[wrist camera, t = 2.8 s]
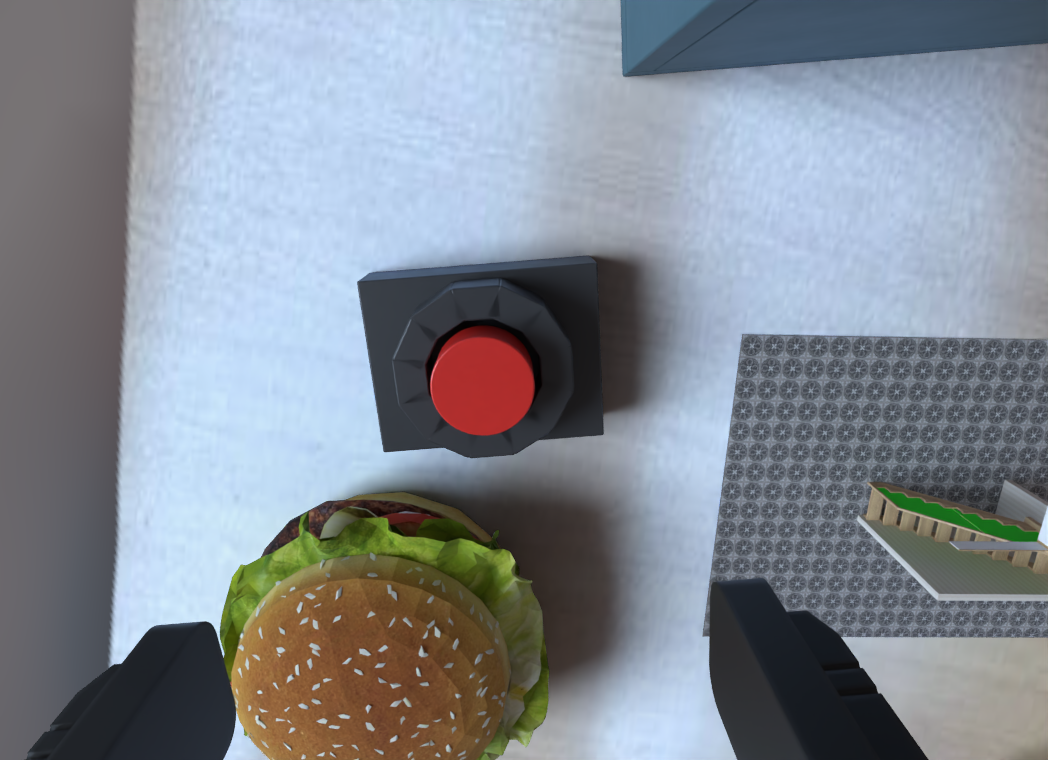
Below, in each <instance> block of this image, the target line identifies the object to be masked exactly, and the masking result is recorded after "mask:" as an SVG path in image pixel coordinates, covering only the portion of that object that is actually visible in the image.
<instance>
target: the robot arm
mask: <svg viewBox="0 0 1048 760" xmlns="http://www.w3.org/2000/svg"><path fill="white" fill-rule="evenodd" d="M709 667H710V678H711V684H712V690H713V694H714V698H715V702H716V705H717V708H718V711H719V714H720V716H721V719H722V722H723V724H724V727H725V729H726V732H727V734H728V737H729V739H730V742H731V745H732V747H733V750H734V752H735V755H736V757H737V760H928V758H927V757H926V756H925V754H924V753H923V751H922V750H921V749H920V747H919V746H918V744H917V743H916V742H915V740H914V739H913V737H912V736H911V735H910V733H909V732H908V730H907V729H906V728H905V726H904V725H903V723H902V722H901V721H900V719H899V718H898V716H897V715H896V714H895V712H894V711H893V709H892V708H891V707H890V705H889V704H888V702H887V701H886V700H885V698H884V697H883V695H882V694H878V692H877V688H876V686H875V684H874V683H873V681H872V680H871V679H870V677H869V676H868V674H867V673H866V672H865V670H864V669H863V668H860V666H859V662H858V660H857V659H856V658H855V656H854V655H853V653H852V652H851V651H850V649H849V648H848V646H847V645H846V644H845V642H844V641H843V639H842V638H841V637H840V635H839V634H838V633H837V632H836V631H834V630H833V629H832V628H830V627H829V626H827V625H826V624H825V623H823V622H822V621H821V620H819V619H818V618H817V617H815V616H814V615H812V614H811V613H810V612H808V611H807V610H803V611H790V612H787V611H786V610H785V608H784V607H783V605H782V604H781V602H780V600H779V599H778V597H777V596H776V594H775V593H774V591H773V589H772V588H771V586H770V585H769V583H768V582H767V581H766V580H765V579H764V578H753V579H741V580H729V581H716V582H713V583H712V585H711V590H710V648H709ZM235 721H236V706H235V699H234V695H233V692H232V688H231V685H230V681H229V677H228V674H227V670H226V666H225V663H224V659H223V655H222V652H221V648H220V644H219V641H218V637H217V634H216V631H215V629H214V627H213V626H212V624H211V623H209V622H206V621H205V622H192V623H180V624H168V625H157V626H154V627H152V628H151V629H149V630H148V631H147V633H146V634H145V635H144V636H143V637H142V639H141V640H140V641H139V642H138V644H137V645H136V646H135V648H134V649H133V650H132V651H131V653H130V654H129V655H128V656H127V658H126V659H125V660H124V661H123V663H122V664H114V665H113V666H111V667H110V668H109V669H108V670H106V671H105V672H104V673H102V674H101V675H100V676H99V677H97V678H96V679H95V680H93V681H92V682H91V683H90V684H88V685H87V686H86V687H84V688H83V689H82V690H80V691H79V692H78V693H77V694H76V695H75V697H74V698H73V699H72V700H71V701H70V702H69V704H68V705H67V706H66V707H65V708H64V710H63V711H62V712H61V713H60V714H59V716H58V717H57V718H56V719H55V720H54V722H53V723H52V724H51V728H50V731H49V732H45V733H44V734H43V735H42V736H41V737H40V739H39V740H38V741H37V742H36V743H35V744H34V746H33V747H32V748H31V749H30V751H29V752H28V756H27V759H26V760H223V759H224V757H225V755H226V753H227V751H228V748H229V746H230V743H231V740H232V737H233V733H234V728H235Z"/></svg>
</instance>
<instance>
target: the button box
mask: <svg viewBox="0 0 1048 760" xmlns="http://www.w3.org/2000/svg"><path fill="white" fill-rule="evenodd" d="M357 285H358V291H359V298H360V304H361V310H362V317H363V323H364V330H365V336H366V342H367V349H368V355H369V362H370V368H371V374H372V381H373V387H374V394H375V400H376V406H377V413H378V419H379V426H380V432H381V438H382V445H383V451H384V452H393V451H406V450H419V449H431V448H446V449H449V450H451V451H453V452H456V453H458V454H461V455H463V456H465V457H470V458H480V457H493V456H506V455H514V454H517V453H518V452H520V451H521V450H523V449H525V448H526V447H528V446H529V445H531V444H532V443H534V442H536V441H537V440H545V439H558V438H571V437H583V436H596V435H603V434H604V429H603V404H602V378H601V353H600V328H599V303H598V277H597V263H596V262H595V261H594V260H593V259H592V258H591V257H590V256H577V257H565V258H552V259H540V260H527V261H514V262H502V263H489V264H476V265H464V266H451V267H438V268H426V269H413V270H400V271H388V272H375V273H369V274H368V275H366V276H365V277H363V278H362V279H361V280H359V281H358V282H357ZM483 325H487V326H494V327H498V328H501V329H504V330H506V331H508V332H510V333H511V334H513V335H514V336H515V337H517V338H518V339H519V340H520V341H521V342H522V344H523V345H524V346H525V348H526V349H527V351H528V353H529V355H530V357H531V361H532V365H533V373H534V380H535V392H534V398H533V401H532V404H531V406H530V408H529V410H528V412H527V413H526V415H525V416H524V417H523V418H522V419H521V420H520V421H519V422H518V423H517V424H516V425H514V426H513V427H512V428H510V429H508V430H506V431H504V432H501V433H498V434H494V435H473V434H468V433H465V432H463V431H460V430H458V429H456V428H455V427H453V426H452V425H450V424H449V423H448V422H447V421H445V420H444V418H443V417H442V416H441V415H440V414H439V412H438V411H437V409H436V407H435V405H434V403H433V400H432V396H431V391H430V380H431V375H432V371H433V368H434V365H435V363H436V360H437V358H438V355H439V353H440V351H441V349H442V347H443V346H444V344H445V343H446V342H447V341H448V340H449V339H450V338H451V337H452V336H453V335H455V334H456V333H458V332H460V331H461V330H464V329H466V328H469V327H473V326H483Z"/></svg>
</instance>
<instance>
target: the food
mask: <svg viewBox="0 0 1048 760" xmlns="http://www.w3.org/2000/svg"><path fill="white" fill-rule="evenodd" d="M498 535H499V530H496V531H495V533H494V535H493V537H491V536H490V535H489V534H487V533H486V532H485V531H484V530H483V529H482V528H480V527H479V526H478V525H477V524H476V523H475V522H474V521H472V520H471V519H470V518H469V517H468V516H466V515H465V514H464V513H463V512H461V511H460V510H459V509H457V508H454V507H451V506H447V505H444V504H441V503H438V502H435V501H432V500H428V499H425V498H422V497H419V496H415V495H412V494H409V493H406V492H395V493H380V494H364V495H357V496H355V497H352V498H349V499H346V500H340V501H326V502H324V503H322V504H321V505H319V506H317V507H315V508H313V509H311V510H309V511H307V512H305V513H304V514H302V515H300V516H298V517H296V518H294V519H292V520H290V521H289V523H288V524H287V525H286V526H285V527H284V528H283V529H282V530H281V532H280V533H279V534H278V535H277V536H276V537H275V538H274V539H273V541H272V542H271V543H270V544H269V545H268V546H267V547H266V548H265V550H264V552H263V554H262V556H261V558H260V559H258V560H256V561H254V562H252V563H250V564H248V565H240V567H239V569H238V570H237V572H236V573H235V574H234V576H233V577H232V581H231V584H230V588H229V591H228V595H227V598H226V602H225V605H224V609H223V614H222V619H221V626H220V639H221V643H222V647H223V650H224V653H225V655H224V658H223V659H224V663H225V666H226V670H227V674H228V677H229V681H230V684H231V687H232V692H233V695H234V699H235V706H236V711H237V714H238V717H239V720H240V722H241V724H242V726H243V727H244V735H245V736H247V737H248V738H249V739H250V740H251V741H253V743H254V744H255V745H256V746H257V747H258V748H259V749H260V750H261V751H262V752H263V753H262V754H263V755H264V756H265V755H266V756H267V757H268V758H269V759H270V760H495V759H497V758H498V757H499V756H500V755H503V753H504V751H505V749H506V746H507V744H508V742H509V740H518V741H519V742H520V743H522V744H523V745H524V746H525V747H527V745H528V744H529V742H530V739H531V736H532V733H533V730H535V729H536V728H537V727H539V726H540V725H541V724H542V723H543V721H544V719H545V717H546V713H547V707H548V679H549V667H548V662H547V654H546V645H545V638H544V632H543V618H542V610H541V607H540V605H539V602H538V600H537V599H536V597H535V595H534V594H533V592H532V588H531V583H532V581H533V580H526V579H524V578H522V577H519V566H518V565H517V563H516V562H515V560H514V558H513V556H512V554H511V552H510V551H507V550H505V549H501V548H500V546H499V545H498V543H497V542H496V538H497V537H498Z"/></svg>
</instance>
